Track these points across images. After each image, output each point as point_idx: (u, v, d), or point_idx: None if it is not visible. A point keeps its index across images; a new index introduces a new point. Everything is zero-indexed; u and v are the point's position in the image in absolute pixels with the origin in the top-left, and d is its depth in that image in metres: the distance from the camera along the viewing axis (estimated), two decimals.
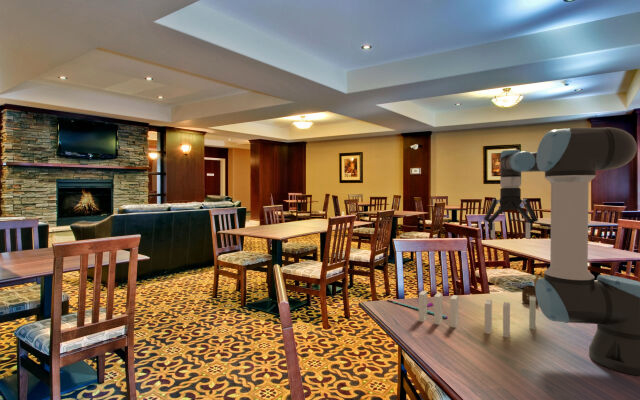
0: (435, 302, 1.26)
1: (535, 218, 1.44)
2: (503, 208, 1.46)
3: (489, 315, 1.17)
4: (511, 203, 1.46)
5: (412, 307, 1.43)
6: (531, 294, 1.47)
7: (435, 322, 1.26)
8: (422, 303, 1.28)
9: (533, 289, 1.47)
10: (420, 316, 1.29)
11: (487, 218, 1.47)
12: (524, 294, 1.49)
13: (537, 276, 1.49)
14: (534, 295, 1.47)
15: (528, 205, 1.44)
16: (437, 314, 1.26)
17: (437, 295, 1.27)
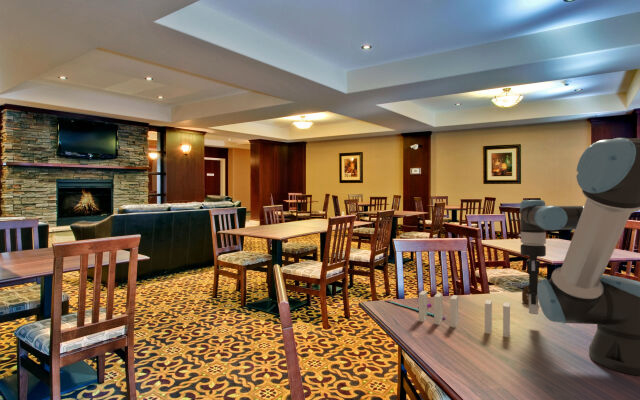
0: (435, 302, 1.26)
1: None
2: None
3: (489, 315, 1.17)
4: None
5: (410, 308, 1.42)
6: None
7: (435, 322, 1.26)
8: (422, 303, 1.28)
9: None
10: (420, 316, 1.29)
11: None
12: (524, 294, 1.49)
13: None
14: None
15: None
16: (437, 314, 1.26)
17: (437, 295, 1.27)
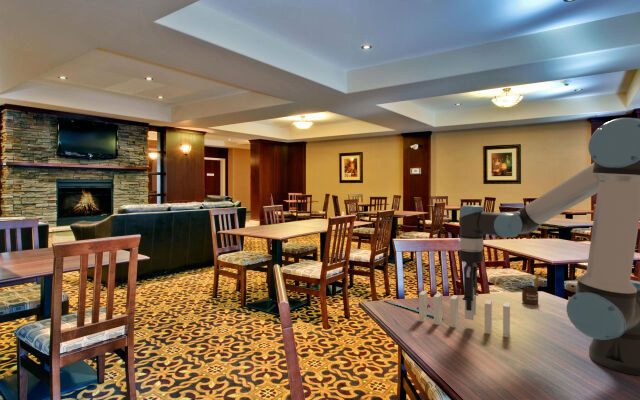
0: (435, 302, 1.26)
1: (476, 288, 1.26)
2: (475, 278, 1.19)
3: (489, 315, 1.17)
4: None
5: (408, 308, 1.41)
6: (531, 294, 1.47)
7: (435, 322, 1.26)
8: (422, 303, 1.28)
9: (533, 289, 1.47)
10: (420, 316, 1.29)
11: (472, 297, 1.17)
12: (524, 294, 1.49)
13: (537, 276, 1.49)
14: (534, 295, 1.47)
15: None
16: (437, 314, 1.25)
17: (437, 295, 1.27)
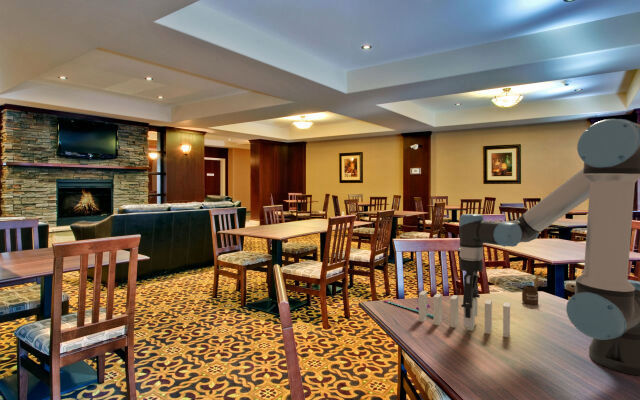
0: (434, 302, 1.25)
1: (477, 291, 1.29)
2: (475, 286, 1.19)
3: (489, 315, 1.17)
4: None
5: (408, 308, 1.41)
6: (531, 294, 1.47)
7: (434, 323, 1.25)
8: (422, 303, 1.28)
9: (533, 289, 1.47)
10: (420, 316, 1.29)
11: (471, 304, 1.14)
12: (524, 294, 1.49)
13: (537, 276, 1.49)
14: (534, 295, 1.47)
15: None
16: (436, 315, 1.25)
17: (436, 295, 1.26)
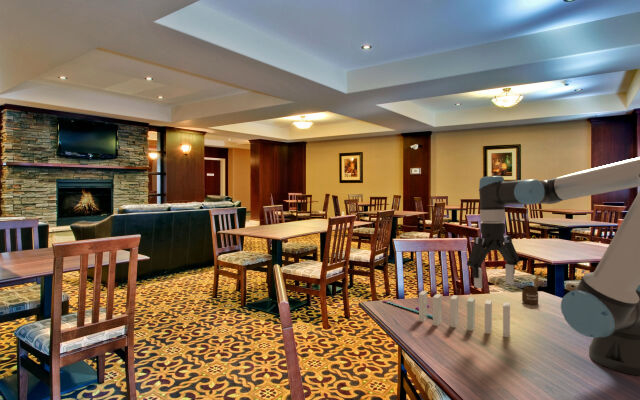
0: (434, 303, 1.25)
1: (517, 259, 1.20)
2: (489, 249, 1.15)
3: (489, 315, 1.17)
4: (495, 242, 1.17)
5: (407, 308, 1.41)
6: (531, 294, 1.47)
7: (434, 323, 1.25)
8: (422, 303, 1.28)
9: (533, 289, 1.47)
10: (420, 316, 1.29)
11: (474, 263, 1.14)
12: (524, 294, 1.49)
13: (537, 276, 1.49)
14: (534, 295, 1.47)
15: (511, 243, 1.19)
16: (436, 315, 1.25)
17: (436, 296, 1.26)
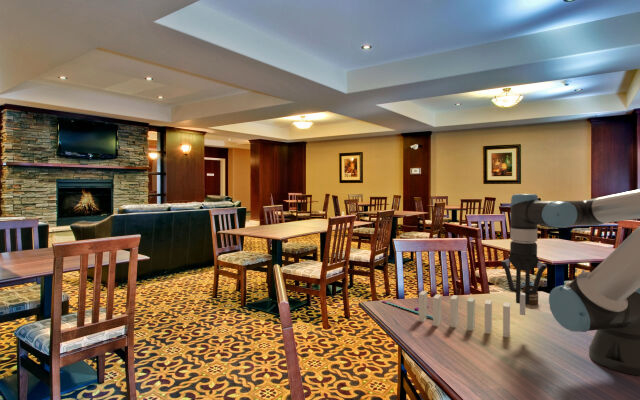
0: (434, 304, 1.24)
1: (534, 290, 1.11)
2: (518, 270, 1.13)
3: (489, 315, 1.17)
4: (523, 262, 1.13)
5: (406, 309, 1.41)
6: (531, 294, 1.47)
7: (434, 324, 1.24)
8: (422, 303, 1.28)
9: None
10: (420, 316, 1.29)
11: (511, 287, 1.15)
12: None
13: None
14: (534, 295, 1.47)
15: (539, 272, 1.11)
16: (436, 316, 1.24)
17: (436, 296, 1.25)
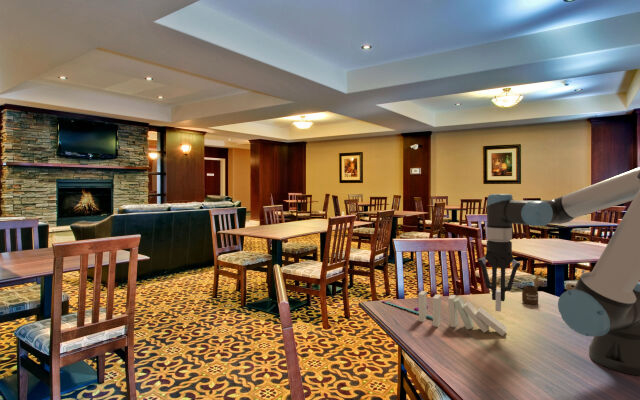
0: (434, 304, 1.24)
1: (509, 287, 1.15)
2: (494, 268, 1.17)
3: (474, 314, 1.19)
4: (498, 260, 1.17)
5: None
6: (531, 294, 1.47)
7: (434, 324, 1.24)
8: (422, 303, 1.28)
9: (533, 289, 1.47)
10: (420, 316, 1.29)
11: (487, 284, 1.18)
12: (524, 294, 1.49)
13: (537, 276, 1.49)
14: (534, 295, 1.47)
15: (514, 270, 1.14)
16: (436, 316, 1.24)
17: (436, 297, 1.25)
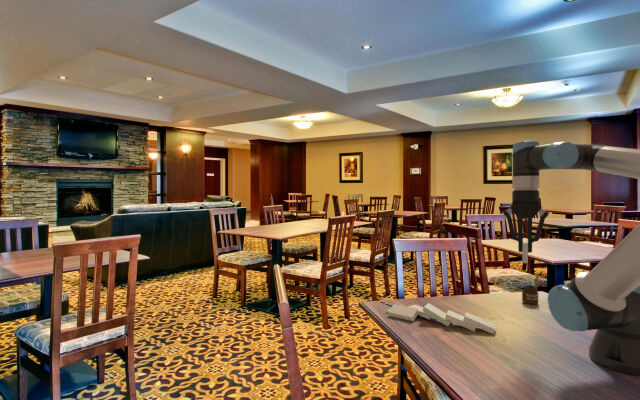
0: (394, 316, 1.33)
1: (536, 237, 1.11)
2: (520, 218, 1.13)
3: (457, 319, 1.22)
4: (525, 210, 1.12)
5: None
6: (531, 294, 1.47)
7: (411, 319, 1.28)
8: None
9: (533, 289, 1.47)
10: None
11: (513, 236, 1.14)
12: (524, 294, 1.49)
13: (537, 276, 1.49)
14: (534, 295, 1.47)
15: (542, 219, 1.10)
16: (404, 316, 1.30)
17: None
